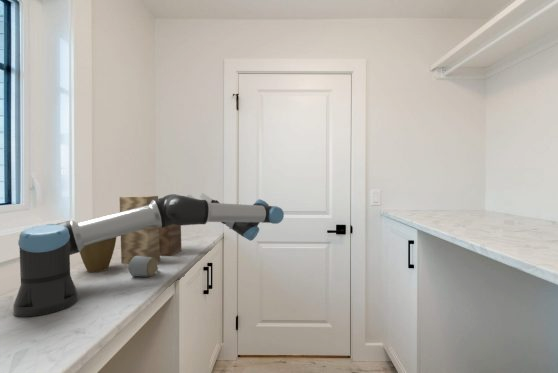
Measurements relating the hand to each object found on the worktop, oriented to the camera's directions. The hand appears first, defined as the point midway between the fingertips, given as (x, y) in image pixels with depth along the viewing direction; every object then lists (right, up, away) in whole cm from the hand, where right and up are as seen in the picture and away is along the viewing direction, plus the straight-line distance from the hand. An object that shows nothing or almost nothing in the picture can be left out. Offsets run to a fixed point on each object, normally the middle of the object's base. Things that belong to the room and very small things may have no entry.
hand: (194, 195), depth 146 cm
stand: (-22, -30, -11) cm, 38 cm away
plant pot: (-34, -31, -22) cm, 51 cm away
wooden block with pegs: (-18, -29, +5) cm, 35 cm away
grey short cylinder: (-11, -30, -30) cm, 44 cm away
